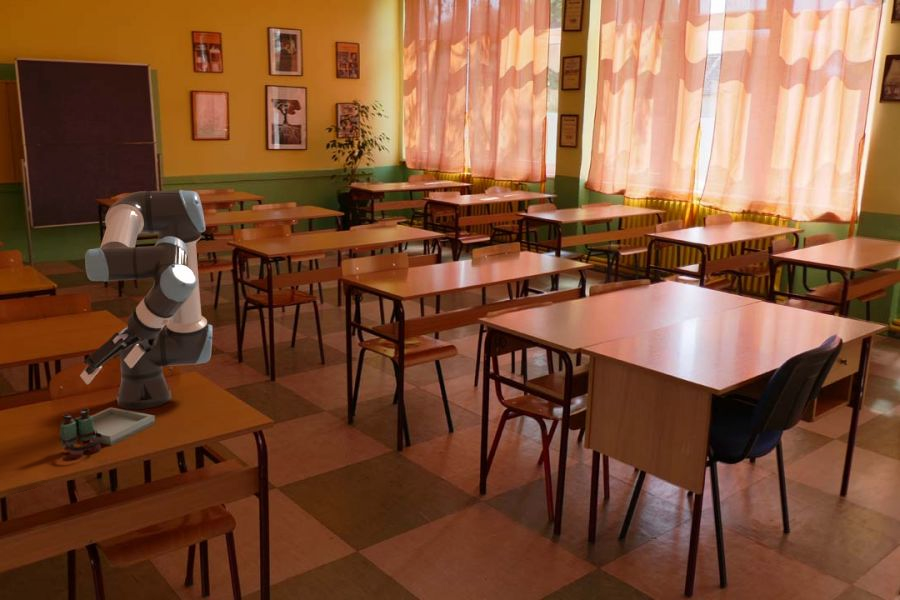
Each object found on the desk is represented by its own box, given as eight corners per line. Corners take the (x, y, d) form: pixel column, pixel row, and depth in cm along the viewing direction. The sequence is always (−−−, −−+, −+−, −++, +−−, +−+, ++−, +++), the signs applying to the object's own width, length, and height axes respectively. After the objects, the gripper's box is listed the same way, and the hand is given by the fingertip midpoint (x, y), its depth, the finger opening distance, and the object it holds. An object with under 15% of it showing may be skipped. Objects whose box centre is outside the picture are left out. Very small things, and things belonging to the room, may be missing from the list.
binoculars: (73, 427, 192) (53, 413, 198) (75, 466, 195) (56, 451, 201) (108, 417, 199) (88, 404, 204) (110, 454, 202) (90, 440, 208)
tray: (111, 415, 225) (110, 407, 225) (155, 423, 220) (154, 415, 219) (65, 435, 211) (64, 427, 210) (111, 445, 205) (110, 436, 205)
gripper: (119, 343, 171) (74, 399, 179) (196, 317, 193) (153, 368, 202) (98, 317, 171) (55, 374, 180) (177, 294, 194) (135, 346, 203)
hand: (106, 371), depth 191 cm, fingers open, 13 cm apart
